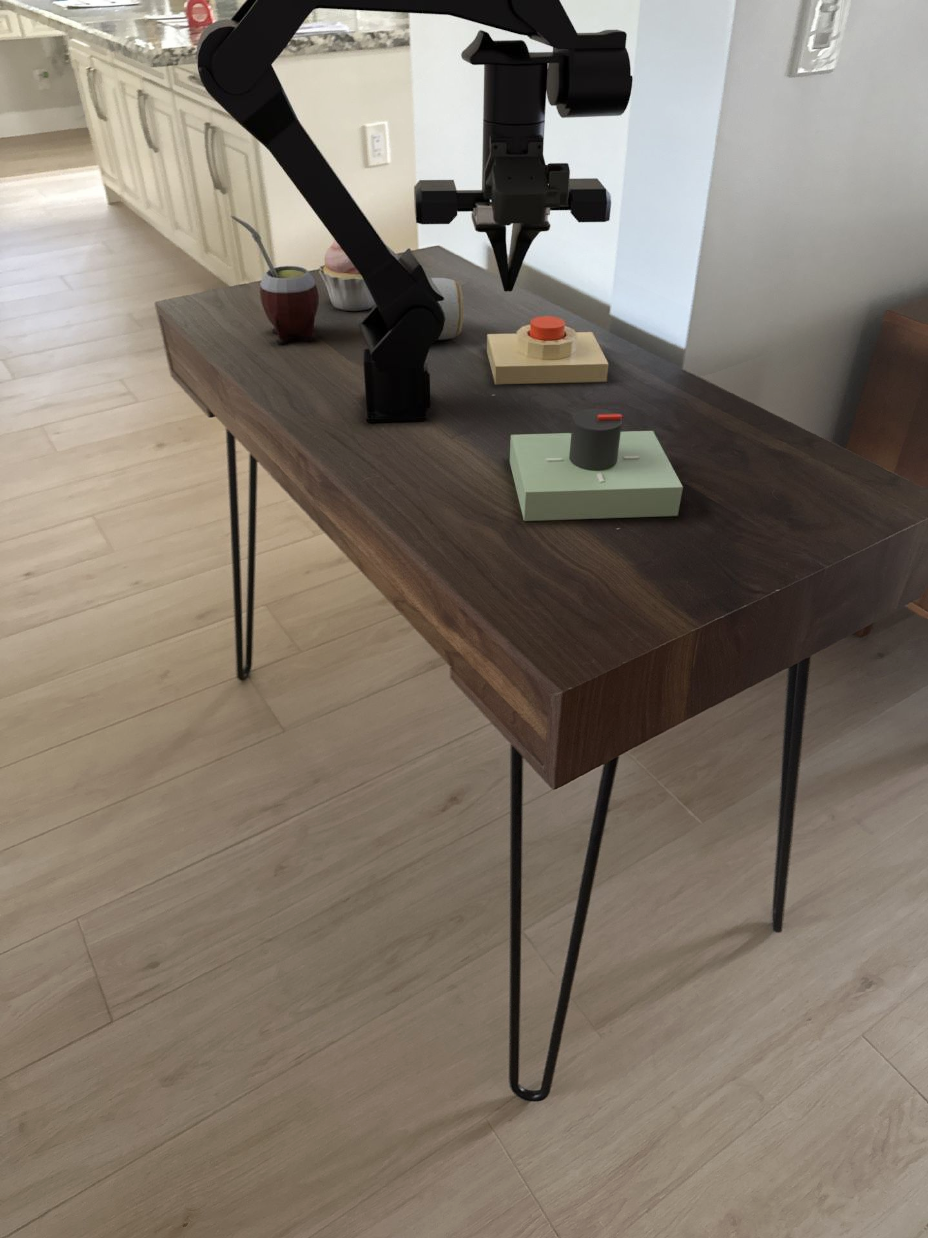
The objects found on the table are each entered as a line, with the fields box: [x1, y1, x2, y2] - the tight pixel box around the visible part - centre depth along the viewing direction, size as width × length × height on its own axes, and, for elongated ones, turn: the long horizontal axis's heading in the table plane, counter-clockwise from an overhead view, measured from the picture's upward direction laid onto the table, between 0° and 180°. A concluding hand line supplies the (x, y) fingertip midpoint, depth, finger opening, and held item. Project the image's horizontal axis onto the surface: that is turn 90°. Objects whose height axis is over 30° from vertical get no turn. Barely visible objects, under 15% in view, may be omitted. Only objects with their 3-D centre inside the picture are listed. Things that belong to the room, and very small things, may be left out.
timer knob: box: [569, 408, 623, 470], centre depth 82 cm, size 4×4×4 cm
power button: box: [529, 315, 566, 341], centre depth 105 cm, size 4×4×2 cm
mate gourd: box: [230, 214, 320, 346], centre depth 109 cm, size 8×8×15 cm
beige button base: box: [486, 324, 609, 385], centre depth 106 cm, size 13×10×4 cm
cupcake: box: [318, 238, 376, 312], centre depth 121 cm, size 9×9×10 cm
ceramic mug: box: [430, 277, 464, 341], centre depth 113 cm, size 11×8×8 cm
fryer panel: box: [509, 430, 684, 522], centre depth 84 cm, size 14×11×3 cm
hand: (507, 290), depth 93 cm, fingers closed
